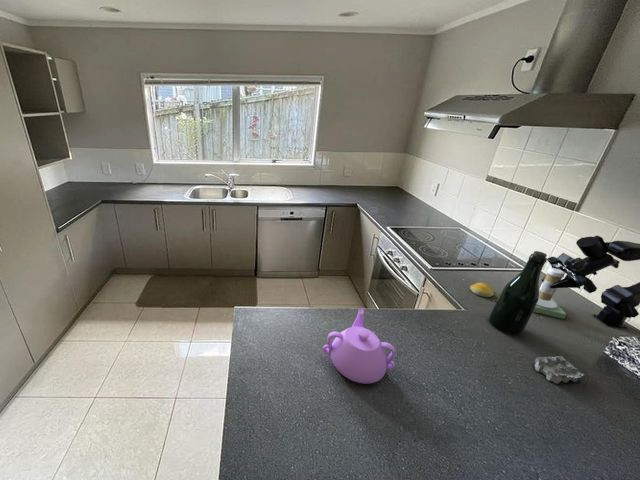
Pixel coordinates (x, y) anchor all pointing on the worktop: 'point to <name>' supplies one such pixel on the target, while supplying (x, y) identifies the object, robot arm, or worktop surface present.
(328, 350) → the teapot
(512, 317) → the beer bottle
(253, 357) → the worktop surface
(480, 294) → the bread roll
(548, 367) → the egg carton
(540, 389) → the worktop surface
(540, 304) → the scale
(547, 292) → the sprinkles bottle
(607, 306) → the robot arm
